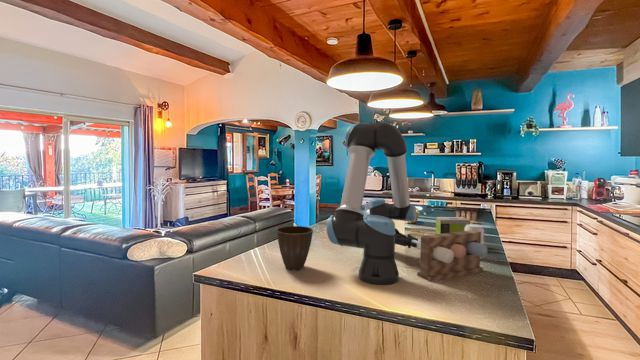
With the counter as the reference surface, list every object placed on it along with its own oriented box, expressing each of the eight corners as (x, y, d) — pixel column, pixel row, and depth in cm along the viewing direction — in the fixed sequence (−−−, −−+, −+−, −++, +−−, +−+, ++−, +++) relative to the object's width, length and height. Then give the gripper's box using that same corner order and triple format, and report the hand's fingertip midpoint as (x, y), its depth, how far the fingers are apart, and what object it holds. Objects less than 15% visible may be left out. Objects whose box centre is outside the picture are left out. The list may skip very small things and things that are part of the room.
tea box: (463, 243, 181) (464, 216, 180) (470, 248, 171) (471, 220, 170) (435, 242, 183) (435, 216, 182) (439, 247, 173) (440, 219, 172)
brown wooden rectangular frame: (430, 281, 124) (431, 239, 123) (417, 275, 130) (418, 235, 129) (482, 271, 136) (484, 232, 135) (468, 266, 142) (469, 229, 141)
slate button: (478, 258, 129) (478, 245, 128) (459, 252, 137) (459, 240, 137) (487, 256, 131) (487, 244, 131) (468, 250, 139) (468, 238, 139)
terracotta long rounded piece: (456, 259, 127) (456, 246, 127) (438, 253, 135) (438, 240, 135) (465, 257, 129) (466, 244, 129) (447, 251, 137) (448, 239, 137)
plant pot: (317, 263, 144) (317, 227, 143) (306, 275, 130) (306, 234, 129) (284, 260, 148) (284, 225, 147) (270, 271, 134) (270, 232, 133)
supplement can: (477, 255, 160) (478, 224, 159) (486, 260, 151) (487, 227, 150) (460, 255, 159) (461, 223, 158) (468, 260, 151) (469, 227, 150)
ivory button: (443, 263, 121) (443, 250, 121) (425, 257, 129) (426, 244, 129) (453, 262, 123) (454, 248, 123) (435, 255, 131) (435, 243, 131)
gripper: (399, 241, 159) (435, 254, 137) (376, 243, 153) (410, 257, 132) (400, 225, 158) (436, 236, 137) (376, 227, 153) (410, 239, 131)
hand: (423, 246), depth 134 cm, fingers closed
